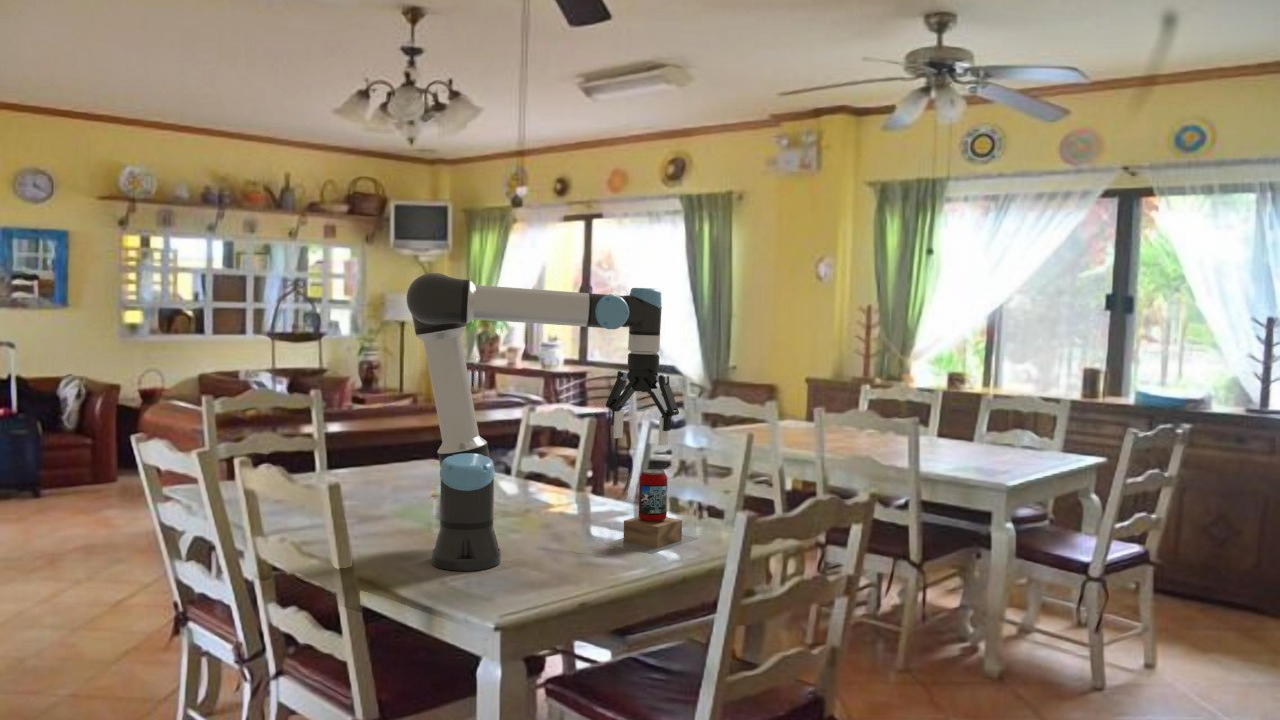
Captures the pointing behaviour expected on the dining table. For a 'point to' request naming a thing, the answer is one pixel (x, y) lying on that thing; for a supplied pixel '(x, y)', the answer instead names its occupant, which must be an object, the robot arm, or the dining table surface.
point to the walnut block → (653, 532)
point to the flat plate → (648, 549)
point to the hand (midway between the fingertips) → (640, 441)
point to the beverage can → (653, 495)
